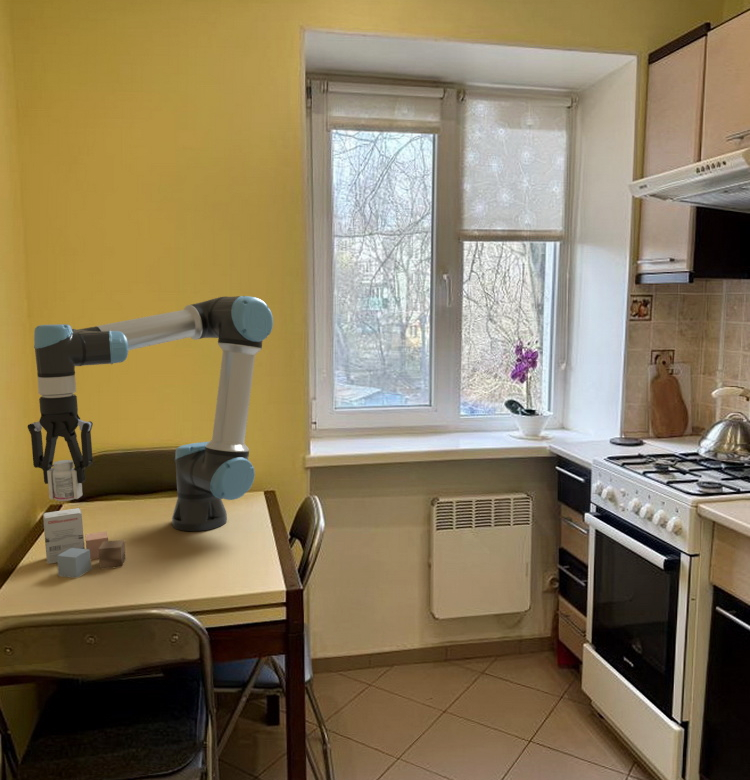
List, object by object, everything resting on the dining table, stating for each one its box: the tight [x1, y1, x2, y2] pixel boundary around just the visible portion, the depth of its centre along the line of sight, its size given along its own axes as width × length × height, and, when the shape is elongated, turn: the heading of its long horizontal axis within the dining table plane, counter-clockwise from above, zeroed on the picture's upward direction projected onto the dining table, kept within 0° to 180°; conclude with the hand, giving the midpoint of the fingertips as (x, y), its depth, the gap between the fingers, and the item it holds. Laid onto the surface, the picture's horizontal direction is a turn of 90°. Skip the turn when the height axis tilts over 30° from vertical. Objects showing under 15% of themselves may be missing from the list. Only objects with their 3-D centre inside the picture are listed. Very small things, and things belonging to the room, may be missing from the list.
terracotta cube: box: [84, 530, 109, 560], centre depth 167 cm, size 5×5×5 cm
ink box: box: [42, 507, 86, 565], centre depth 165 cm, size 9×5×12 cm, turn 118°
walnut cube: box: [98, 539, 126, 570], centre depth 162 cm, size 5×5×5 cm
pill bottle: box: [53, 459, 75, 502], centre depth 150 cm, size 5×5×8 cm
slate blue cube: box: [56, 548, 92, 579], centre depth 156 cm, size 5×5×5 cm
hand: (66, 496), depth 150 cm, fingers closed on pill bottle, 5 cm apart
